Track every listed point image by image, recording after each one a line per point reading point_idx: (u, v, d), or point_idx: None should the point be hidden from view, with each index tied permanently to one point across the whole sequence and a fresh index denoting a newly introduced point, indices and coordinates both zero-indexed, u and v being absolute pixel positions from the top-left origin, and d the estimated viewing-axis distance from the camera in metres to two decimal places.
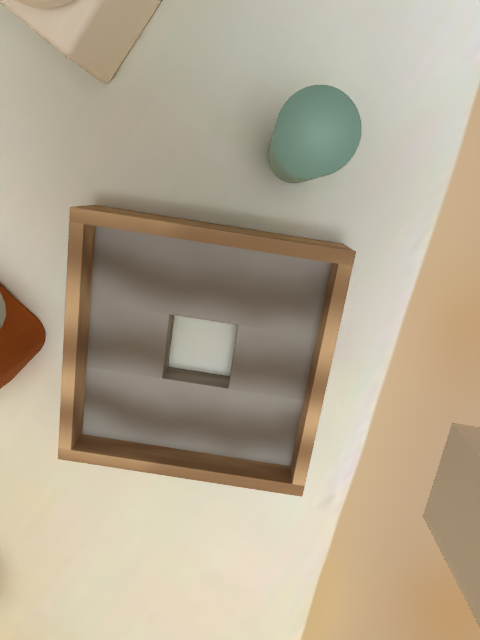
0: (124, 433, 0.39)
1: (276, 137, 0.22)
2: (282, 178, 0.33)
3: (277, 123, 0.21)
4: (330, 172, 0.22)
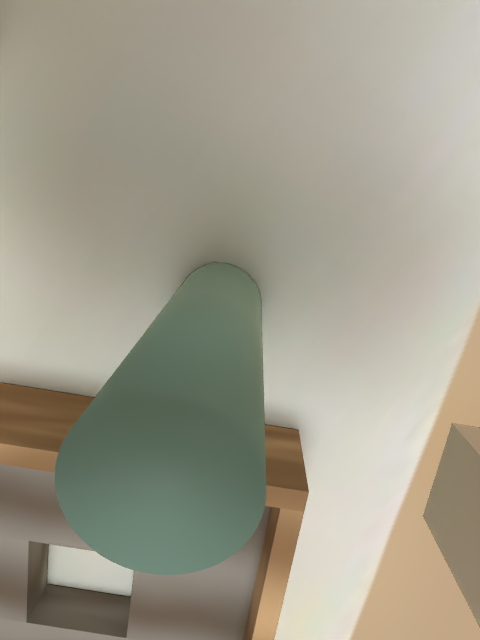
0: None
1: (60, 498, 0.09)
2: None
3: (57, 470, 0.09)
4: (197, 569, 0.09)
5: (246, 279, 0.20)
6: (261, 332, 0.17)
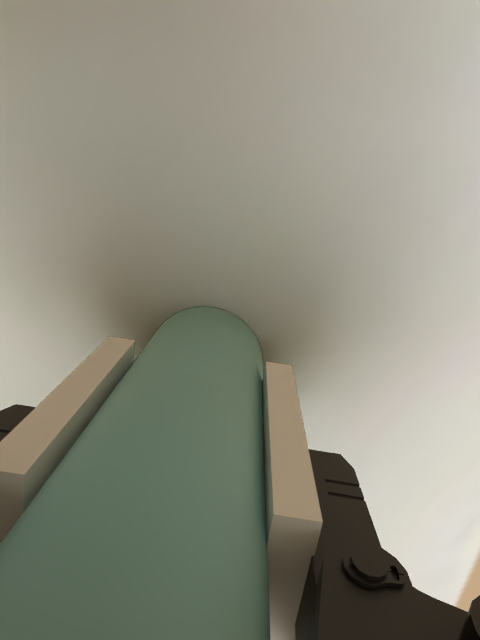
0: None
1: None
2: None
3: None
4: None
5: (241, 333, 0.14)
6: (263, 433, 0.11)
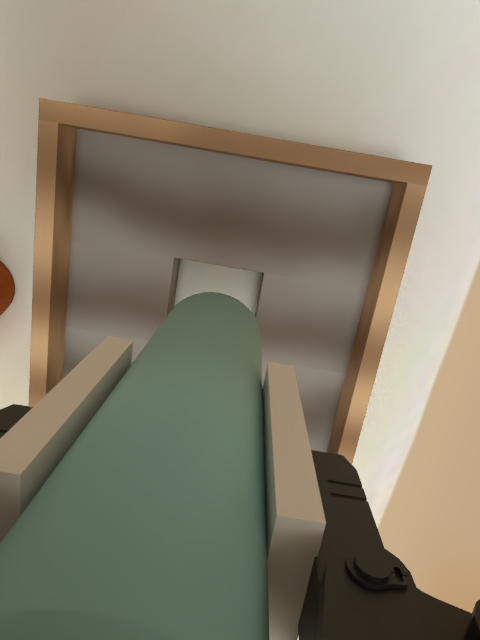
0: None
1: None
2: None
3: None
4: None
5: (243, 314, 0.16)
6: (262, 391, 0.13)
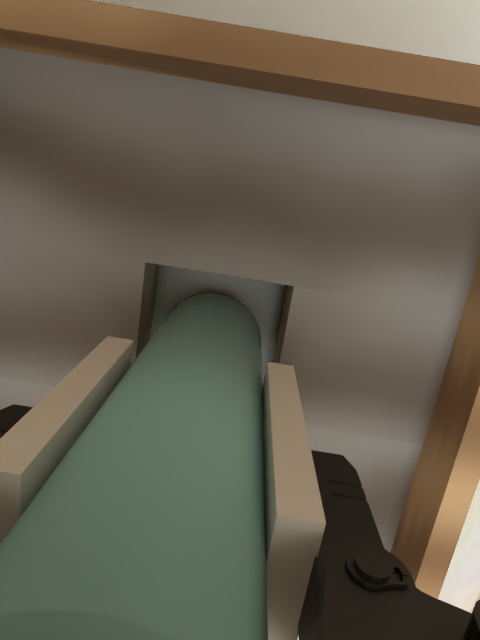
0: None
1: None
2: None
3: None
4: None
5: (242, 315, 0.16)
6: (261, 392, 0.13)
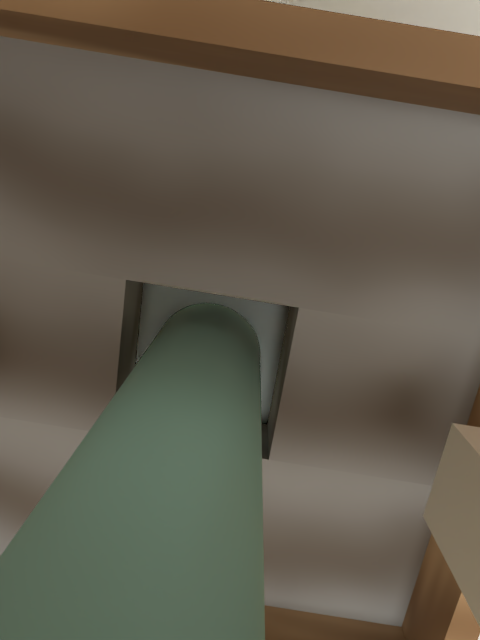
0: None
1: None
2: None
3: None
4: None
5: (241, 327, 0.16)
6: (260, 411, 0.12)
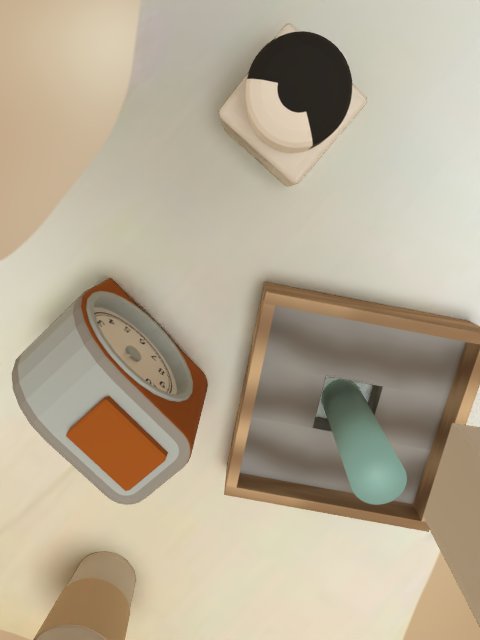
0: (273, 472, 0.46)
1: (351, 482, 0.33)
2: None
3: (352, 474, 0.33)
4: (384, 503, 0.33)
5: (359, 390, 0.44)
6: None
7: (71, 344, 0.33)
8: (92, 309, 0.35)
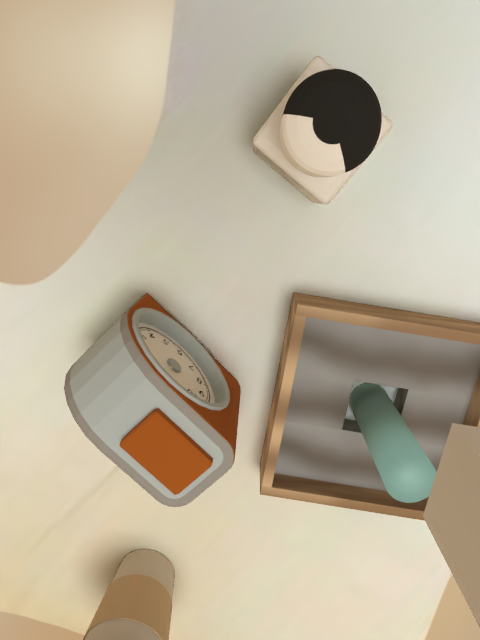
0: (305, 472, 0.48)
1: (385, 482, 0.35)
2: None
3: (386, 475, 0.35)
4: (417, 501, 0.36)
5: (385, 393, 0.47)
6: None
7: (121, 361, 0.36)
8: (137, 327, 0.38)
